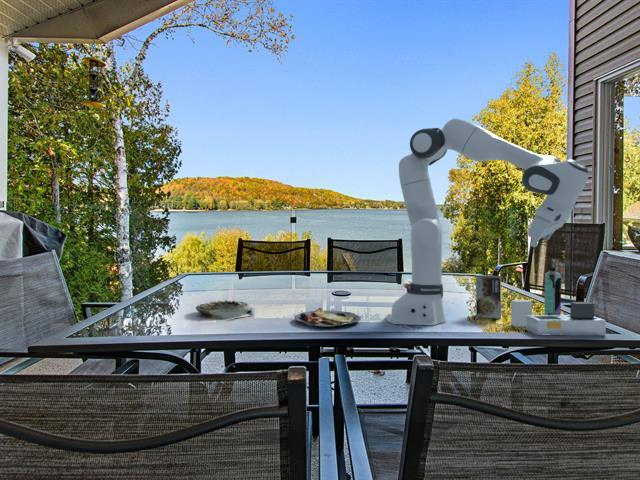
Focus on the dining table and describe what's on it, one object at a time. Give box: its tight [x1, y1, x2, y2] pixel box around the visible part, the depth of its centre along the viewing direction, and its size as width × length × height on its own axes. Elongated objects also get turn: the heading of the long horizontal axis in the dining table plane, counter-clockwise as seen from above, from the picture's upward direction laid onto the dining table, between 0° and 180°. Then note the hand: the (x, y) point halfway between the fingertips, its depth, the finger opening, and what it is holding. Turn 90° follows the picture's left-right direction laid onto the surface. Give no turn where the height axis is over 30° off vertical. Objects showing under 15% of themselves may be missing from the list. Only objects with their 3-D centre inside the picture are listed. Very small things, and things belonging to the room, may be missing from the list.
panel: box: [510, 299, 533, 328], centre depth 152 cm, size 6×3×9 cm, turn 89°
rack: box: [525, 301, 607, 336], centre depth 142 cm, size 22×8×10 cm, turn 89°
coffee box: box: [475, 274, 502, 320], centre depth 167 cm, size 9×6×16 cm
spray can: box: [543, 267, 562, 315], centre depth 161 cm, size 6×6×20 cm
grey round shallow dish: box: [195, 300, 254, 322], centre depth 176 cm, size 28×27×5 cm
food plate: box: [293, 307, 362, 328], centre depth 161 cm, size 25×23×4 cm
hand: (539, 242), depth 149 cm, fingers open, 8 cm apart
